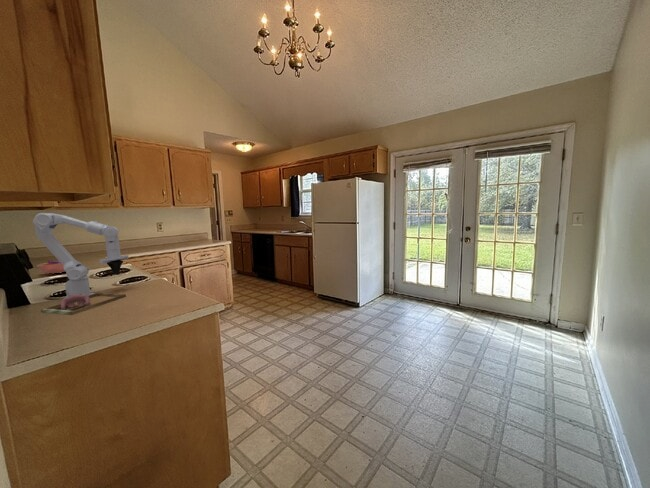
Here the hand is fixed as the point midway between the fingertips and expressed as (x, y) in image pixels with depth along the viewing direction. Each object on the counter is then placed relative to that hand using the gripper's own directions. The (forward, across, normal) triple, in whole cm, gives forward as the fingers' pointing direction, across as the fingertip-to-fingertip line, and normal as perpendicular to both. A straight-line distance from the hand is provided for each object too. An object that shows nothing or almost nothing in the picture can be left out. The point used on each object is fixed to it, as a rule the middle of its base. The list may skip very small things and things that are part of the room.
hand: (116, 274), depth 147 cm
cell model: (+10, +30, +90) cm, 95 cm away
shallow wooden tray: (+9, -19, -4) cm, 22 cm away
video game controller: (+10, -23, -4) cm, 26 cm away
